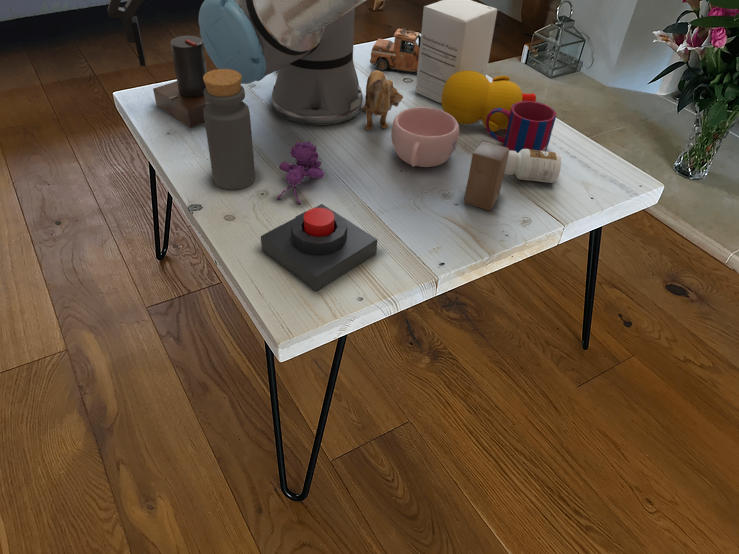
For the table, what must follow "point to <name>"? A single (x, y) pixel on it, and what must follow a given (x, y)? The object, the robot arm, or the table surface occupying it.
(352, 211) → the table surface
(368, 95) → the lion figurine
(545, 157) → the pill bottle
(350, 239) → the switch base
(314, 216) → the switch
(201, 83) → the dial
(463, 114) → the toy
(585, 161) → the table surface
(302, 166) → the purple lumpy piece
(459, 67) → the white product box
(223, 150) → the bottle
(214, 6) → the robot arm
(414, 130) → the mug
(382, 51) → the toy car
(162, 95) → the dial panel
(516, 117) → the cup
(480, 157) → the wooden block
